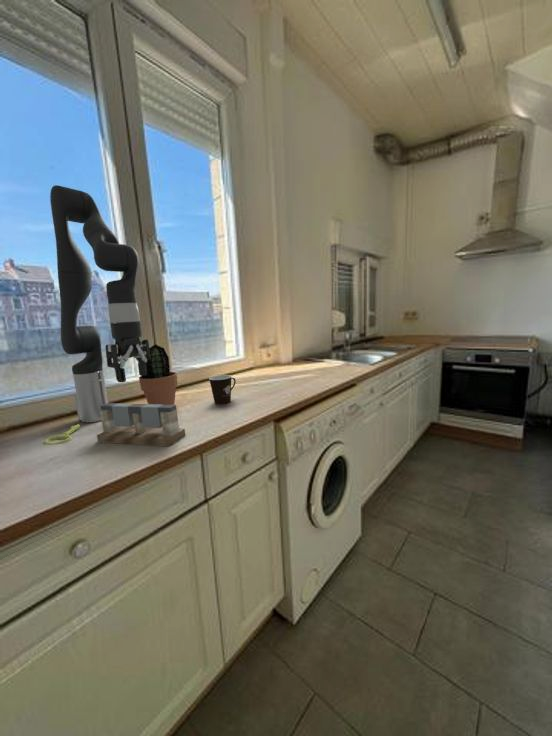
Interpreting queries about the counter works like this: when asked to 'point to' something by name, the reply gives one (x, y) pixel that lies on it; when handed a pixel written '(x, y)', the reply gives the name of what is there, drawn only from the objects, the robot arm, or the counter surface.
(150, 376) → the potted plant
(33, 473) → the counter surface
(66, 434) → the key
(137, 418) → the display stand
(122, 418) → the square weight dumbbell
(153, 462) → the counter surface
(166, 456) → the counter surface
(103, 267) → the robot arm
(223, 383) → the coffee mug
